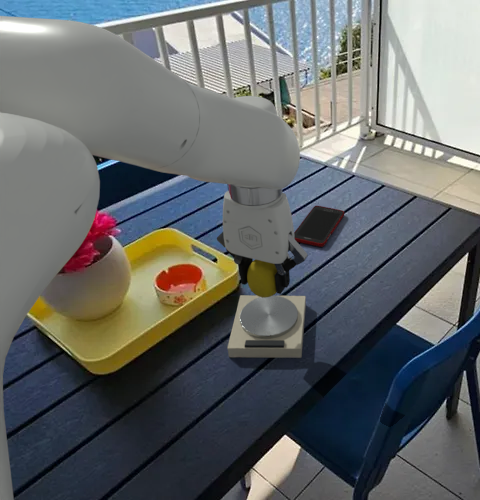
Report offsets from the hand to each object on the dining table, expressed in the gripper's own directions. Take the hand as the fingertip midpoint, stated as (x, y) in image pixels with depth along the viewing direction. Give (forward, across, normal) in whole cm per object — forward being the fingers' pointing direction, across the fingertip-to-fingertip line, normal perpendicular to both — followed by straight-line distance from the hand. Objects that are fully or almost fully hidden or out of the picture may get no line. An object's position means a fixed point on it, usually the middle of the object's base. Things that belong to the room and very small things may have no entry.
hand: (265, 283), depth 82 cm
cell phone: (+11, -4, +33) cm, 35 cm away
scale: (+11, 0, 0) cm, 11 cm away
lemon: (+3, 0, 0) cm, 3 cm away
